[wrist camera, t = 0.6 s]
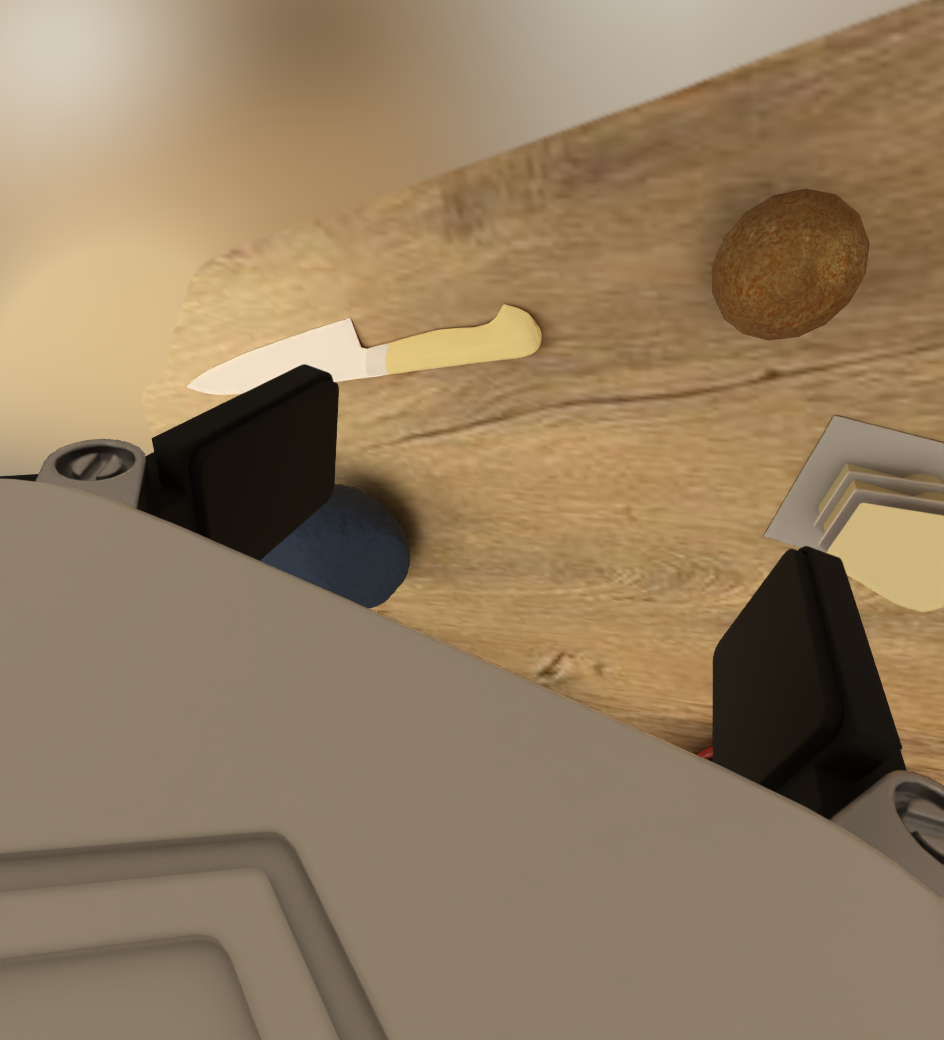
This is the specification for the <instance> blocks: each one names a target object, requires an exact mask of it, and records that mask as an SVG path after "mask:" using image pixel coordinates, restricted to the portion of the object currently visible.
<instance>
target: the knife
mask: <svg viewBox="0 0 944 1040" xmlns="http://www.w3.org/2000/svg"><path fill="white" fill-rule="evenodd" d="M541 341H542V334H541V330H540V327H539V326H538V325H537V324H536V322H535V321H534V319H533V318H532V317H531V316H530V315H529V314H528V313H527V312H525V311H523V310H521V309H519V308H516V307H512V306H509V305H505V304H503V306H502V308H501V310H500V311H499V313H498V315H497V316H496V317H495V318H494V319H493V320H492V321H491V322H490V323H489V324H485V325H481V326H478V327H474V328H453V329H442V330H435V331H431V332H427V333H423V334H419V335H415V336H411V337H408V338H404V339H401V340H398V341H394V342H391V343H387V344H383V345H378V346H374V347H371V348H368V349H366V348H361V345H360V342H359V340H358V337H357V334H356V332H355V329H354V327H353V324H352V321H351V319H350V318H348V319H345V320H342V321H338V322H335V323H332V324H329V325H325V326H322V327H319V328H316V329H312V330H309V331H307V332H304V333H301V334H298V335H295V336H292V337H289V338H286V339H283V340H280V341H278V342H275V343H272V344H269V345H266V346H264V347H261V348H258V349H255V350H252V351H250V352H247V353H244V354H242V355H240V356H237V357H235V358H233V359H231V360H229V361H227V362H224V363H222V364H220V365H218V366H216V367H214V368H212V369H210V370H208V371H206V372H204V373H202V374H201V375H199V376H198V377H197V378H196V379H194V380H193V381H192V382H191V383H190V384H189V385H188V386H187V387H188V388H190V389H192V390H195V391H199V392H202V393H206V394H216V395H228V394H242V393H245V392H247V391H249V390H251V389H253V388H255V387H257V386H259V385H261V384H263V383H265V382H267V381H269V380H271V379H273V378H276V377H278V376H280V375H282V374H284V373H286V372H288V371H290V370H292V369H294V368H296V367H298V366H300V365H303V364H306V365H309V366H312V367H315V368H317V369H320V370H323V371H326V372H328V373H330V374H331V375H332V377H333V382H339V381H346V380H354V379H361V378H367V377H377V376H384V375H389V374H396V373H404V372H411V371H418V370H425V369H433V368H441V367H448V366H456V365H464V364H472V363H479V362H487V361H496V360H505V359H514V358H520V357H524V356H529V355H531V354H533V353H534V352H535V351H536V350H537V349H538V348H539V346H540V344H541Z"/></svg>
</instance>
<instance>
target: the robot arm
mask: <svg viewBox="0 0 944 1040" xmlns="http://www.w3.org/2000/svg"><path fill="white" fill-rule="evenodd" d="M338 397H339V387H338V384H337V383H336V382H333V377H332V375H331V374H330V373H328V372H326V371H323V370H320V369H317V368H315V367H312V366H309V365H306V364H303V365H300V366H298V367H296V368H294V369H292V370H290V371H288V372H286V373H284V374H282V375H280V376H278V377H276V378H273V379H271V380H269V381H267V382H265V383H263V384H261V385H259V386H257V387H255V388H253V389H251V390H249V391H247V392H245V393H243V394H241V395H239V396H237V397H235V398H233V399H231V400H229V401H227V402H225V403H223V404H221V405H219V406H217V407H214V408H212V409H210V410H208V411H206V412H204V413H202V414H200V415H198V416H196V417H194V418H192V419H190V420H188V421H186V422H184V423H182V424H180V425H178V426H176V427H174V428H172V429H170V430H168V431H166V432H164V433H162V434H160V435H157V436H155V437H153V438H152V443H153V447H154V452H153V453H151V454H149V455H147V456H145V453H144V452H143V451H142V450H141V449H140V448H139V447H137V446H135V445H133V444H131V443H128V442H124V441H120V440H110V439H95V440H86V441H81V442H76V443H73V444H69V445H67V446H64V447H62V448H60V449H58V450H56V451H55V452H53V453H52V454H50V455H49V456H48V458H47V459H46V460H45V461H44V463H43V465H42V468H41V470H40V472H39V474H34V475H33V474H32V475H16V476H0V1040H944V786H943V785H942V784H940V783H938V782H936V781H935V780H933V779H931V778H929V777H927V776H924V775H921V774H919V773H916V772H913V771H907V770H906V767H905V763H904V760H903V757H902V754H901V751H900V750H901V749H902V746H901V743H900V739H899V736H898V733H897V730H896V727H895V724H894V721H893V718H892V715H891V711H890V708H889V705H888V702H887V699H886V696H885V693H884V690H883V686H882V683H881V680H880V677H879V674H878V671H877V668H876V665H875V662H874V658H873V655H872V652H871V649H870V646H869V643H868V640H867V637H866V634H865V630H864V627H863V624H862V621H861V618H860V615H859V612H858V609H857V606H856V602H855V599H854V596H853V593H852V590H851V587H850V584H849V581H848V577H847V574H846V571H845V568H844V565H843V562H842V560H841V558H839V557H836V556H834V555H831V554H828V553H825V552H823V551H820V550H817V549H814V548H812V547H809V546H804V547H802V548H800V549H799V550H798V551H797V550H794V549H789V550H788V551H786V552H785V554H784V555H783V556H782V557H781V559H780V560H779V561H778V563H777V564H776V566H775V567H774V568H773V570H772V571H771V572H770V574H769V575H768V576H767V578H766V579H765V580H764V582H763V583H762V584H761V586H760V587H759V589H758V590H757V591H756V593H755V594H754V595H753V597H752V598H751V599H750V601H749V602H748V603H747V605H746V606H745V608H744V609H743V610H742V612H741V613H740V614H739V616H738V617H737V618H736V620H735V621H734V622H733V624H732V625H731V626H730V628H729V629H728V631H727V632H726V633H725V635H724V636H723V637H722V639H721V640H720V641H719V643H718V645H717V647H716V649H715V652H714V656H713V762H711V761H709V760H706V759H704V758H702V757H700V756H698V755H695V754H693V753H691V752H689V751H687V750H684V749H682V748H680V747H678V746H676V745H673V744H671V743H669V742H667V741H664V740H662V739H660V738H658V737H656V736H653V735H651V734H649V733H647V732H644V731H642V730H640V729H638V728H636V727H633V726H631V725H629V724H627V723H624V722H622V721H620V720H618V719H616V718H613V717H611V716H609V715H607V714H604V713H602V712H600V711H598V710H595V709H593V708H591V707H589V706H587V705H584V704H582V703H580V702H578V701H575V700H573V699H571V698H569V697H566V696H564V695H562V694H560V693H558V692H555V691H553V690H551V689H549V688H546V687H544V686H542V685H540V684H537V683H535V682H533V681H531V680H529V679H526V678H524V677H522V676H520V675H517V674H515V673H513V672H511V671H509V670H506V669H504V668H502V667H500V666H497V665H495V664H493V663H490V662H488V661H486V660H484V659H481V658H479V657H477V656H475V655H472V654H470V653H468V652H466V651H463V650H461V649H459V648H457V647H454V646H452V645H450V644H448V643H445V642H443V641H441V640H439V639H436V638H434V637H432V636H430V635H427V634H425V633H423V632H421V631H418V630H416V629H414V628H411V627H409V626H407V625H405V624H402V623H400V622H398V621H396V620H393V619H391V618H389V617H387V616H384V615H382V614H380V613H377V612H375V611H373V610H371V609H368V608H366V607H364V606H362V605H359V604H357V603H355V602H353V601H350V600H348V599H346V598H343V597H341V596H339V595H337V594H334V593H332V592H330V591H327V590H325V589H323V588H320V587H318V586H316V585H314V584H311V583H309V582H307V581H304V580H302V579H300V578H297V577H295V576H293V575H291V574H288V573H286V572H284V571H281V570H279V569H277V568H275V567H272V566H270V565H268V564H265V563H263V562H261V561H260V560H262V559H263V558H264V557H265V556H266V555H267V554H268V553H270V552H271V551H272V550H273V549H274V548H275V547H276V546H278V545H279V544H280V543H281V542H282V541H283V540H284V539H285V538H287V537H288V536H289V535H290V534H291V533H292V532H293V531H295V530H296V529H297V528H298V527H299V526H300V525H301V524H303V523H304V522H305V521H306V520H307V519H308V518H309V517H311V516H312V515H313V514H314V513H315V512H316V511H317V510H319V509H320V508H321V507H322V506H323V505H324V504H325V503H326V502H327V501H328V500H329V499H330V497H331V495H332V493H333V490H334V481H335V460H336V439H337V418H338Z"/></svg>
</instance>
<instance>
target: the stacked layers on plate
mask: <svg viewBox="0 0 944 1040" xmlns="http://www.w3.org/2000/svg"><path fill="white" fill-rule="evenodd" d="M764 536H765V537H768V538H771V539H774V540H778V541H781V542H784V543H787V544H791V545H794V546H797V547H800V548H802V547H804V546H809V547H812V548H814V549H817V550H820V551H823V552H825V553H828V554H831V555H834V556H836V557H839V558H841V560H842V562H843V565H844V568H845V571H846V574H847V575H848V576H850V577H852V578H853V579H855V580H857V581H858V582H860V583H861V584H863V585H865V586H866V587H868V588H870V589H871V590H873V591H875V592H876V593H878V594H880V595H881V596H883V597H884V598H886V599H888V600H889V601H891V602H893V603H894V604H897V605H900V606H903V607H906V608H910V609H913V610H916V611H919V612H926V611H930V610H934V609H938V608H942V607H944V443H941V442H937V441H933V440H929V439H925V438H921V437H917V436H914V435H910V434H906V433H902V432H898V431H894V430H890V429H886V428H882V427H878V426H874V425H870V424H866V423H863V422H859V421H855V420H851V419H847V418H843V417H839V416H834V417H833V419H832V421H831V422H830V424H829V426H828V428H827V429H826V431H825V433H824V434H823V436H822V438H821V439H820V441H819V443H818V445H817V446H816V448H815V450H814V451H813V453H812V455H811V456H810V458H809V460H808V462H807V463H806V465H805V467H804V468H803V470H802V472H801V473H800V475H799V477H798V479H797V480H796V482H795V484H794V485H793V487H792V489H791V490H790V492H789V494H788V496H787V497H786V499H785V501H784V502H783V504H782V506H781V507H780V509H779V511H778V513H777V514H776V516H775V518H774V519H773V521H772V523H771V524H770V526H769V528H768V530H767V531H766V533H765V535H764Z"/></svg>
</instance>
